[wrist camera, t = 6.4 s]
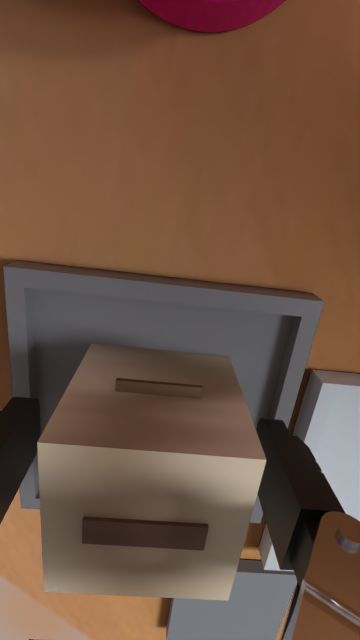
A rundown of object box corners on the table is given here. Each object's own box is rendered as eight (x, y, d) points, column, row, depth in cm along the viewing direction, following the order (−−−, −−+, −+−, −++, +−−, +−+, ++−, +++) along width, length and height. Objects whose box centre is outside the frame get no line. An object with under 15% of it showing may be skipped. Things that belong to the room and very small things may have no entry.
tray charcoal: (312, 292, 12) (324, 301, 11) (255, 503, 15) (260, 523, 14) (17, 260, 11) (3, 266, 10) (30, 488, 14) (21, 508, 14)
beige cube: (231, 347, 12) (271, 450, 7) (208, 462, 14) (228, 604, 9) (91, 333, 11) (34, 432, 7) (88, 453, 13) (42, 595, 9)
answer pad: (294, 562, 17) (299, 575, 16) (269, 631, 19) (272, 645, 18) (178, 556, 16) (179, 568, 16) (166, 627, 18) (166, 641, 18)
